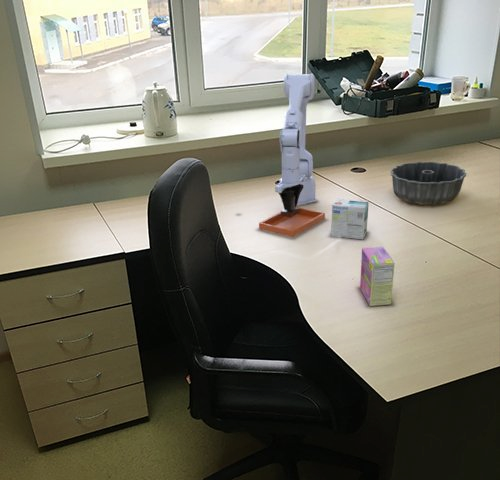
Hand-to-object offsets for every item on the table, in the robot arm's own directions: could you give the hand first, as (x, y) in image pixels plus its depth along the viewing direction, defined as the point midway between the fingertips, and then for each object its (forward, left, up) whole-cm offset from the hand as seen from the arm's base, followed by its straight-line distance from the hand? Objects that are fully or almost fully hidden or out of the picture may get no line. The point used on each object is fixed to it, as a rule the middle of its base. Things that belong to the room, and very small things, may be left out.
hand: (290, 207), depth 196 cm
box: (+8, +56, -6) cm, 56 cm away
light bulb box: (-11, +18, -6) cm, 22 cm away
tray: (0, +1, -6) cm, 6 cm away
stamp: (0, 0, -2) cm, 2 cm away
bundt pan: (-55, +4, -6) cm, 56 cm away
